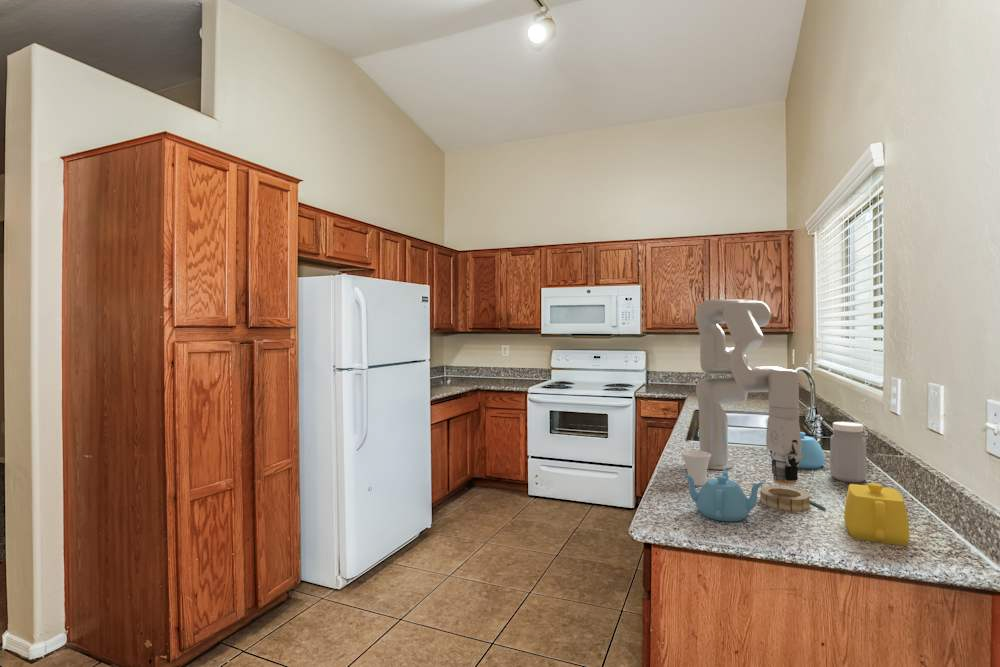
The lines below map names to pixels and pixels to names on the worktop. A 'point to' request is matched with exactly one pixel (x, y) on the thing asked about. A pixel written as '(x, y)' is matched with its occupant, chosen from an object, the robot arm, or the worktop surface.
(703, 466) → the cup
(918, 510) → the worktop surface
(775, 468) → the pill bottle
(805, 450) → the sugar bowl
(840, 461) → the jar
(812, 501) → the green stick
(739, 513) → the teapot
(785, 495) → the segmented tan ring
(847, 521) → the teapot
